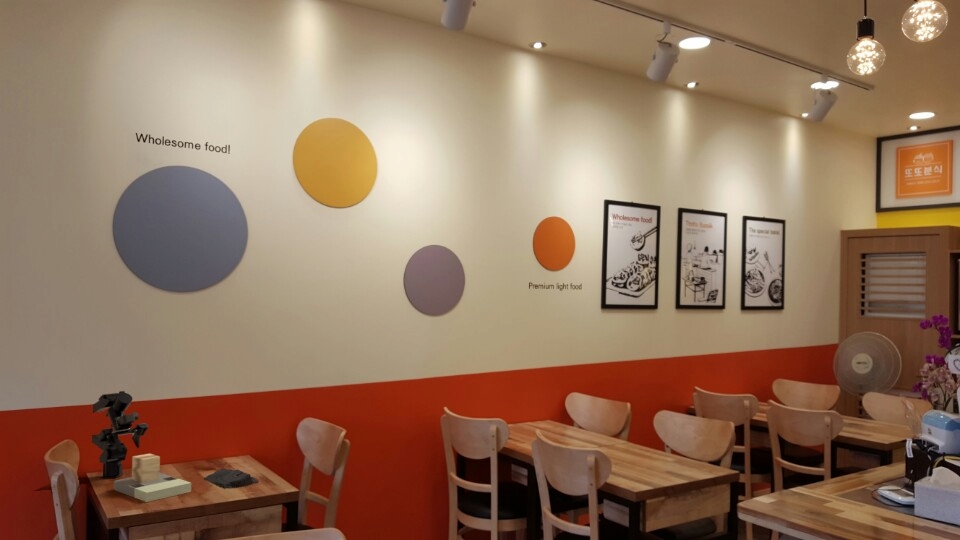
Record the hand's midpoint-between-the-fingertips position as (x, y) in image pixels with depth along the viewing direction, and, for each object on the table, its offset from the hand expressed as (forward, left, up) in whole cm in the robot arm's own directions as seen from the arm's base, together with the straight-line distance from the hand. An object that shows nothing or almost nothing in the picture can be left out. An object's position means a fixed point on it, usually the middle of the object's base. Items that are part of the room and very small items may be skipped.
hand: (130, 449), depth 291 cm
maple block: (+10, -8, -10) cm, 16 cm away
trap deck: (+15, -11, -14) cm, 23 cm away
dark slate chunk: (+40, +6, -14) cm, 43 cm away
